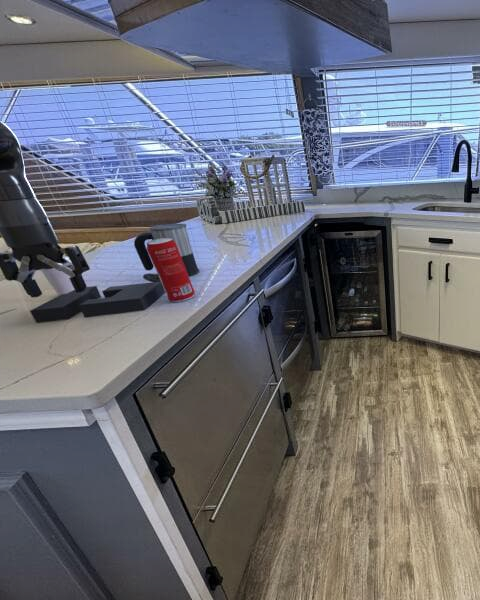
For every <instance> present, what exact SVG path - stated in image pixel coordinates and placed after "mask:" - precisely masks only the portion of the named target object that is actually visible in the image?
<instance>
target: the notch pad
mask: <svg viewBox="0 0 480 600" xmlns="http://www.w3.org/2000/svg"><path fill="white" fill-rule="evenodd" d="M101 293H102V295H103V297H100V298H98V299H90V300H87V301H85V302H83V303H82V304H80V305H79V307H80V309H81V313H82V315H83V317H84V318H89V317H90V318H91V317H97V316H98V317H99V316H105V315H106V316H107V315H115V314H123V313H132V312H139V311H145V310H147V309H148V308H149V307H150V306H151V305H152V304H154V303H155V302H156V301H157V300H158V299H160V298H161V297H162V295H164V294H166V292H165V290H164V287H163V285H162V283H161V282H151V281H150V282H143V283H134V284H133V283H132V284H124V285H113V286H108V287H107V288H105V289H103V290H102V292H101Z"/></svg>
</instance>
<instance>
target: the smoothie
mask: <svg viewBox="0 0 480 600" xmlns="http://www.w3.org/2000/svg"><path fill="white" fill-rule="evenodd" d="M63 257H64V258H66V259H67V260H69V261H70V259H69V257H67V256H63ZM70 262H71V261H70ZM60 264H62V263H60ZM40 272H41V273H42V274H43V276H44V278H45V279H46V280H47V282H48V283H49V285H50V286H51V287H52V289H53V290H54V292H55V293H56V295H58V296H60V295H61V294H67V293H69V292H71V291H73V290H75V289H74V287H73V285H72V283H71V281H70V279H69V278H70V276H68V275H67V274H65V273H64V272H62V271H58V270H56V269H55V268H52V269H41V270H40ZM58 296H57V297H58Z"/></svg>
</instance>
